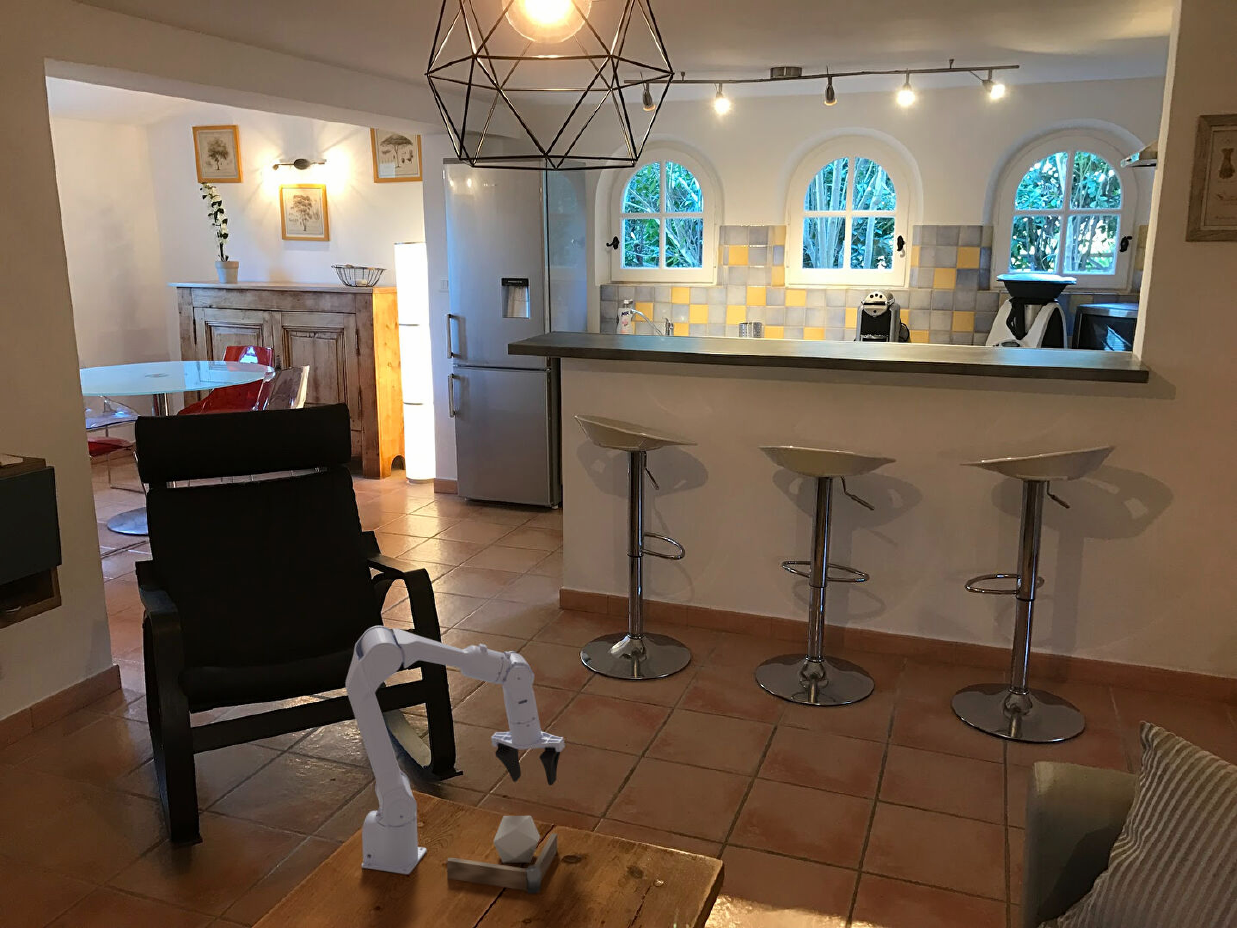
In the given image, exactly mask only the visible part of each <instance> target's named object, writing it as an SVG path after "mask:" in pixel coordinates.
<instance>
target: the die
mask: <svg viewBox="0 0 1237 928" xmlns="http://www.w3.org/2000/svg"><path fill="white" fill-rule="evenodd" d="M540 838H541V835H540V833H539V831H538V829H537V826H536V824H535V822H534V819H533V817H532V816H531V815H503V816H502V818H501V821H500V824H499V826H498V828H497V832H496V834H495V836H494V839H493V845H494V847H495V849H496V850H497V851H496V852H497V853H498V855H499V858H500V859H501V862H502V863H507V864H508V863H509V864H510V863H513V864H514V863H524V864H525V863H531V862H532V860H533V857H534V854H535V852H536V849H537V846H538V843H539V840H540Z"/></svg>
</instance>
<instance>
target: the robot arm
mask: <svg viewBox="0 0 1237 928" xmlns="http://www.w3.org/2000/svg"><path fill="white" fill-rule="evenodd" d="M417 661H421V662H422V661H423V662H426V663H427V662H428V663H433V664H439V665H443V666H449V667H454V668H458V669H459V671H460V672H461V673H460V674H461V675H462V677H463V676H464V677H467V678H471V679H475V680H478V681H482V682H487V683H491V684H495V685H501V687H502V692H503V702H504V707H505V712H506V717H507V724H508V728H509V731H503V732H502V731H501V732H497V731H496V732H495V733H494V734H493V735H492V736H491V737H490V739H491V745H492V747H497V749H496V751H495V757H496V758H497V759H498V760H500V762H501V763H502V764H503V765H504V766H505V768H506V770H507V772H508V774H509V776H510V777H511V779H512V782H514V783H516V782H517V781H518V780H519V779H520V778H521V775H522V772H521V765H520V760H519V750H530V749H531V750H532V749H544V751H542V753H541V754H540V755H539V760H540V761H541V763H542V765H543V768H544V770H545V772H544V773H545V776H546V781H547V784H548V786H553V785H554V783H555V782H556V781H557V772H558V764H559V763H558V762H559V759H560V756H561V752H562V751H563V750H564V748H565V739H564V737H563V736H556V735H553V734H552V733H551V734H550V733H549V732H548V733H547V732H545V731H542V729H541V723H540V718H539V712H538V707H537V702H536V696H535V691H534V689H533V684H534V681H535V673H533V669H532V668H531V666H530V665H529V663H528V662H527V660H526V658H525V657H523V655H521V654H520V653H517V652H516V651H515V650H511V651H504V652H500V651H496V650H493V649H489V648H488V646H487V645H486V644H482V643H479V644H478V646H477V645H473V644H470V645H468V646H467V647H465V648H463V649H462V648H459V647H456V646H453V645H451V644H450V645H449V644H446V643H443V642H440V641H437V640H433V639H431V638H427V637H424V636H420V635H418V634H415V633H412V632H408V631H405V630H403V629H400V628H392V629H391V628H389V627H387V626H384V625H375V626H372V627H369V628H368V629H366V630H365V631H364V633H363V634H362V635H361V636H360V637H359V639H358V640H357V642H355V645H354V649H353V655H352V659H351V662H350V665H349V668H348V673H347V676H346V679H345V690H346V693H347V696H348V700H349V702H350V705H351V708H352V712H353V715H354V719H355V721H356V723H357V726H358V730H359V733H360V735H361V738H362V742H363V744H364V749H365V750H366V753H367V756H368V760H369V762H370V765H371V768H372V771H373V774H374V778H375V781H376V783H375V787H374V791H375V795H376V798H377V801H378V804H379V807H378V808H377V810H370V811H369V812H368V814H367V815H366V817H365V819H364V821H363V825H362V828H361V829H362V831H361V833H362V834H361V837H362V841H361V842H362V859H363V862H362V863H361V868H363V869H371V870H377V871H384V872H389V873H395V874H403V875H410V873H412V871H414V868H415V867H416V866H417V864H418V863H419V862H420V861H421V859H422V858H423V857H424V855H425V854H426V853H427V851H428V850H427V848H426V847H419V843H418V840H419V839H418V821H417V817H418V816H417V810H418V809H417V808H418V805H417V801H416V799H415V797H414V794H413V792H412V788H411V785H410V784H411V783H410V779H409V777H408V776H407V774H406V773H404V772H403V771H402V770H401V769H400V766H399V762H398V760H397V756H396V753H395V751H394V748H393V745H392V742H391V737H390V734H389V732H388V729H387V726H386V723H385V720H384V717H383V714H382V710H381V708H380V705H379V701H378V698H377V696H376V692H377V690H378V688H380V686H381V684H383V683H384V682H385V681H387V679H389V678H390V677H392V676H393V675H394V674H395V673H396V672H398V671H399V669H400V667H401V666H402V665H403V668H404V669H406V668H409V667H410V666H411V665H413V664H414V663H416V662H417Z"/></svg>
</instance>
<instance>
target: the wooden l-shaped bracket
mask: <svg viewBox="0 0 1237 928" xmlns="http://www.w3.org/2000/svg"><path fill="white" fill-rule="evenodd" d="M557 852H558V833H554V832H551V834H550V836H549V837H548V840H547V841H546V843H545V844H544V846H543V848H542V851H541V852H540V854H539V855H538V857H537V859H536V860H535V862H534V864H532V865H528V866H527V867H526V868H522V867H517V866H510V865H502V864H496V863H488V862H484V861H483V862H482V861H476V860H468V859H462V858H455V857H448V859H447V860H446V876H447V879H448V880H449V879H450V880H456V881H457V880H458V881H462V882H463V881H464V882H469V883H470V882H471V883H476V884H482V885H489V886H495V887H503V888H509V889H514V890H515V889H516V890H520V891H522V890H523V891H526V892H527V893H528V894H530V895H535V894H538V893H540V891H541V882H542V880H543V879H544V876H545V875H546V873H547V871H548V869H549V867H550V866H551V863H552V862H553V860H554V858H555V856H556V853H557Z"/></svg>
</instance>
